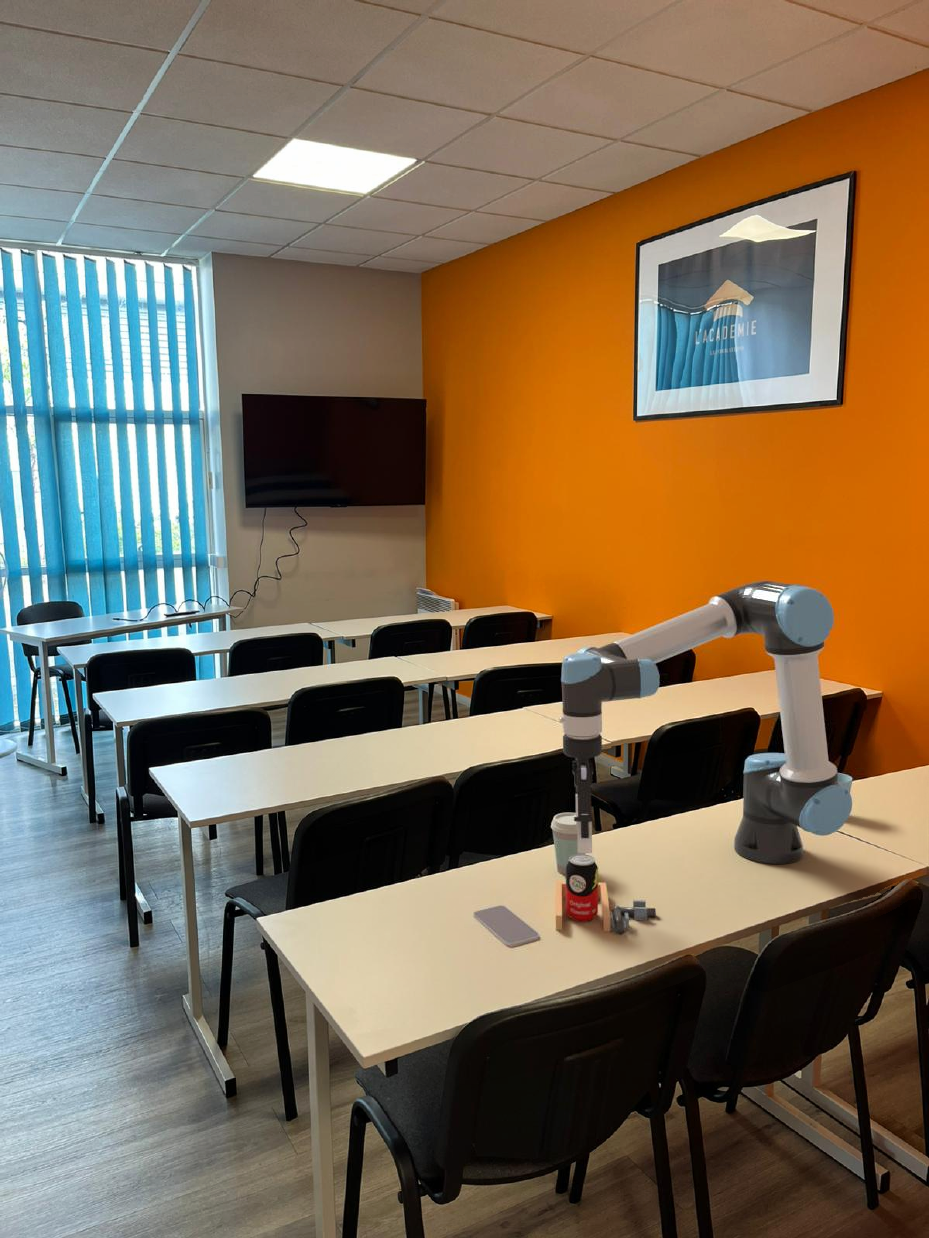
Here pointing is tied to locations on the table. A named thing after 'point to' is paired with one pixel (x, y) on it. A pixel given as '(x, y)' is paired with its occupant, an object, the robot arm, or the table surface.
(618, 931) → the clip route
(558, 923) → the end holder
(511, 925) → the smartphone
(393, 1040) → the table surface
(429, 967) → the table surface
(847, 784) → the cup
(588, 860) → the beverage can
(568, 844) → the coffee cup
